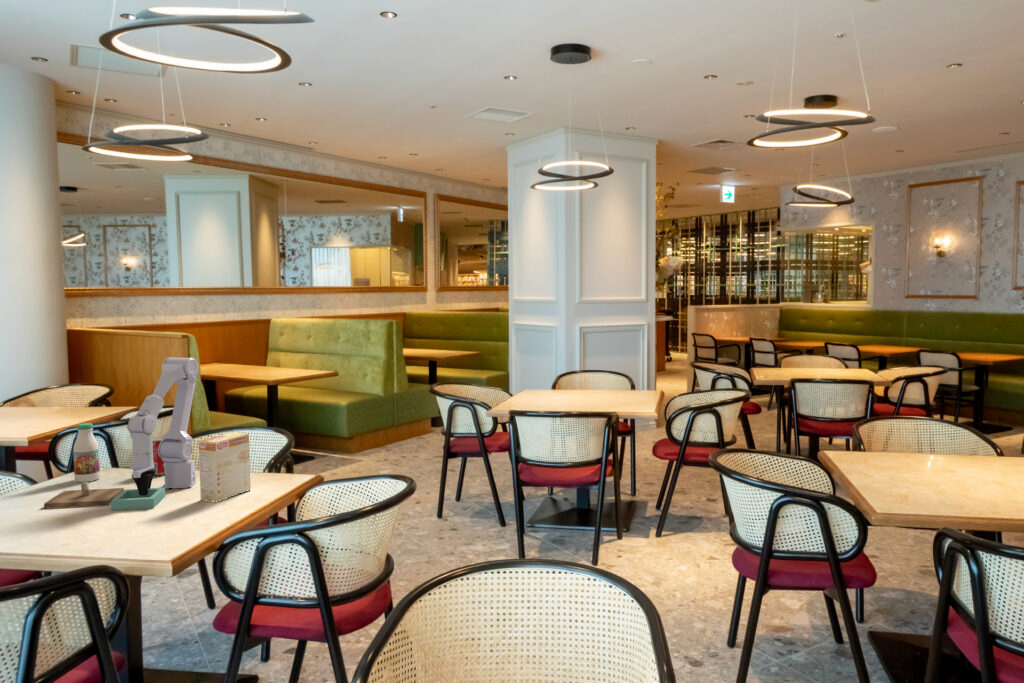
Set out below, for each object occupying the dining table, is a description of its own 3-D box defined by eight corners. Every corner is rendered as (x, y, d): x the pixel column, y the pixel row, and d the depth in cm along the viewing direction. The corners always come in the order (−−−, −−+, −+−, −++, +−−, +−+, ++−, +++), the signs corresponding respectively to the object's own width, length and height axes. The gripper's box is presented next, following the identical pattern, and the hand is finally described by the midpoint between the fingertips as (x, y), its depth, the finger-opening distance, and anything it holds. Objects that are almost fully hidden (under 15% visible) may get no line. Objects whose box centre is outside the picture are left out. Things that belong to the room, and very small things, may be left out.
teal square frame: (165, 496, 227) (165, 487, 227) (154, 508, 216) (153, 498, 215) (125, 498, 225) (124, 489, 225) (111, 510, 213) (111, 500, 213)
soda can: (165, 476, 252) (164, 440, 251) (146, 476, 252) (144, 440, 251) (175, 471, 259) (174, 436, 258) (156, 471, 259) (155, 436, 258)
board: (123, 492, 232) (123, 476, 232) (108, 505, 219) (107, 487, 218) (64, 495, 229) (63, 478, 228) (44, 508, 215) (43, 490, 215)
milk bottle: (71, 480, 247) (69, 424, 246) (96, 475, 253) (93, 421, 251) (78, 484, 242) (75, 427, 241) (103, 479, 248) (100, 423, 246)
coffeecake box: (235, 488, 237) (234, 431, 236) (251, 490, 234) (250, 433, 233) (199, 500, 224) (197, 440, 222) (215, 503, 221) (213, 442, 219)
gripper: (137, 448, 231) (138, 488, 232) (121, 458, 216) (123, 501, 217) (160, 447, 232) (161, 487, 233) (145, 457, 218) (147, 500, 219)
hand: (144, 494), depth 225 cm, fingers closed on teal square frame
